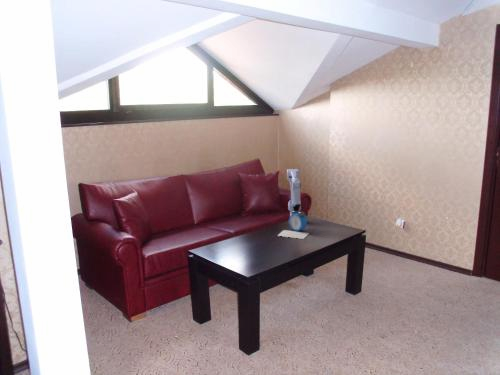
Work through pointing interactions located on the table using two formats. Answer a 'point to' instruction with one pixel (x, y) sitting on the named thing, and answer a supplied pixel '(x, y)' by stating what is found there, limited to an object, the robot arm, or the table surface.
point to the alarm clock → (297, 221)
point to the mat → (293, 234)
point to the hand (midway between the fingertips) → (296, 213)
